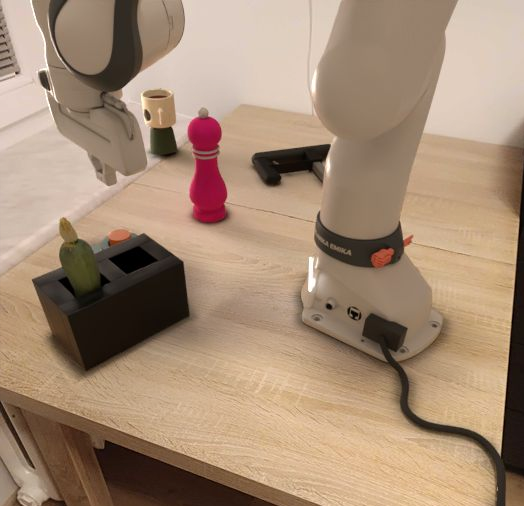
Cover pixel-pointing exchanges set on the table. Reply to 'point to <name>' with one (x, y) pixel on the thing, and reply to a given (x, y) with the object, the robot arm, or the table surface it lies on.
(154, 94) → the character mug
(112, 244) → the button
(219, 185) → the pepper mill
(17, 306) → the table surface
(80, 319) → the toaster
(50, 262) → the table surface
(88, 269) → the vegetable
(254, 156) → the door handle
